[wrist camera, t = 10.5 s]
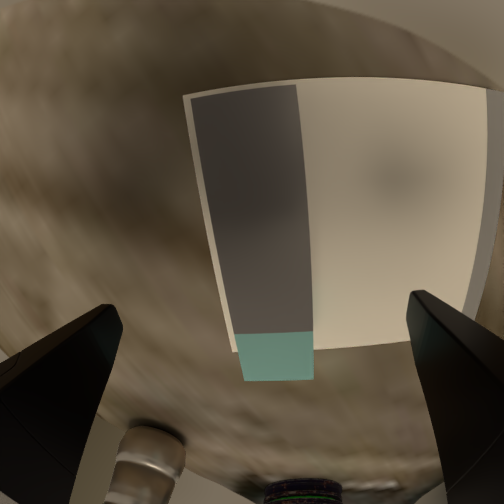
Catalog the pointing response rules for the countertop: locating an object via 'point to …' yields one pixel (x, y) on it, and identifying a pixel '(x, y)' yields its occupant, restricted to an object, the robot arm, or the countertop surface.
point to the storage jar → (303, 492)
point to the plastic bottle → (146, 467)
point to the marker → (260, 225)
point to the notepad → (389, 199)
